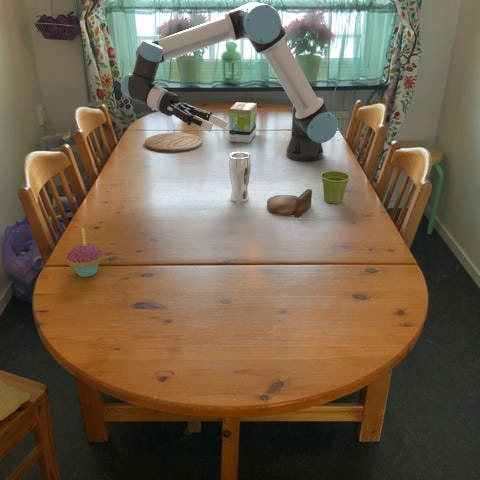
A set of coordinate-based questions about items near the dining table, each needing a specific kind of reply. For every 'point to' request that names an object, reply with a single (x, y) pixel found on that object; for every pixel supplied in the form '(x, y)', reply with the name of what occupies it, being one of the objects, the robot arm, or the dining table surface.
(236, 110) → the tea box
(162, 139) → the trivet
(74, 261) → the cupcake
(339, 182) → the plant pot
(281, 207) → the walnut base
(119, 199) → the dining table surface
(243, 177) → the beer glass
